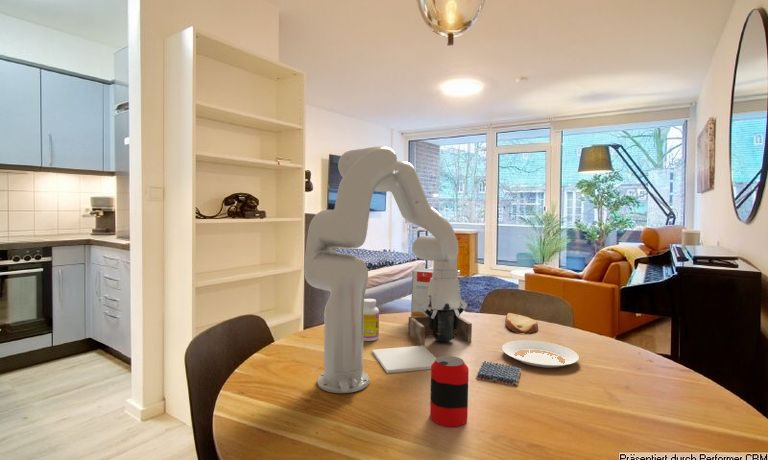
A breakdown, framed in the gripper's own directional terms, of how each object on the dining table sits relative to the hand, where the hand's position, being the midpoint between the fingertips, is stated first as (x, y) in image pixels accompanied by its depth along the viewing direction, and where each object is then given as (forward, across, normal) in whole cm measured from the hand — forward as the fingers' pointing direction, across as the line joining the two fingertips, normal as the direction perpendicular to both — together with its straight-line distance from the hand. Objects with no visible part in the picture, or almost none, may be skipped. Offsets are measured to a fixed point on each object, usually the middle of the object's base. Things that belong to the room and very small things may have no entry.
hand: (443, 328), depth 132 cm
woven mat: (+5, -3, +28) cm, 29 cm away
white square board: (+5, +17, +12) cm, 21 cm away
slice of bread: (+5, -35, -11) cm, 37 cm away
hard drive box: (+5, -5, -22) cm, 23 cm away
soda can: (+5, +19, +45) cm, 49 cm away
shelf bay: (+4, 0, -3) cm, 5 cm away
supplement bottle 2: (+3, 0, 0) cm, 3 cm away
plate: (+5, -21, +20) cm, 30 cm away
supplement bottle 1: (+5, +23, -9) cm, 25 cm away
